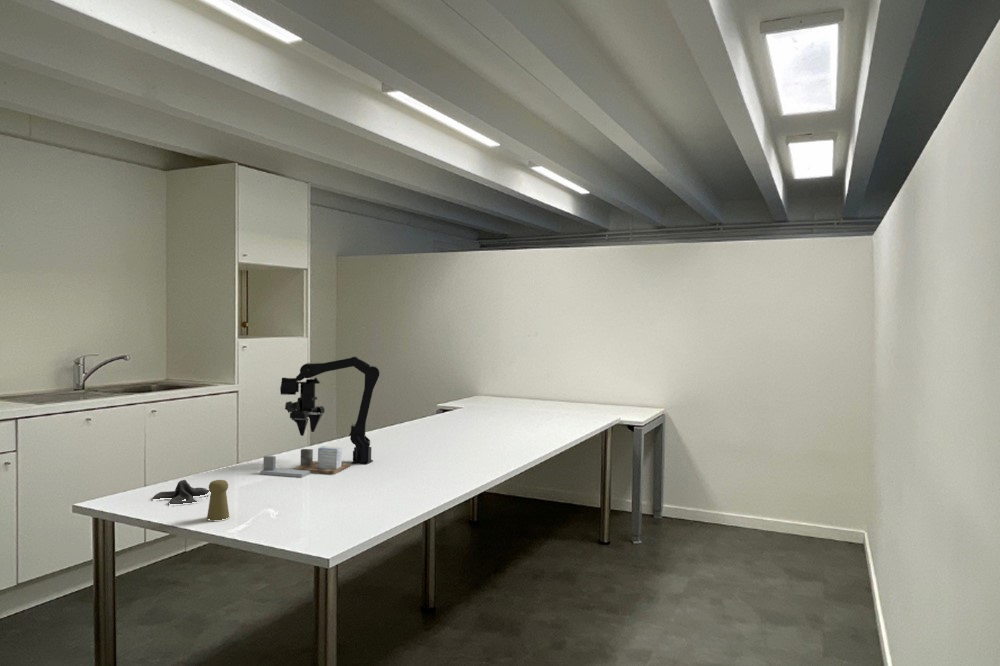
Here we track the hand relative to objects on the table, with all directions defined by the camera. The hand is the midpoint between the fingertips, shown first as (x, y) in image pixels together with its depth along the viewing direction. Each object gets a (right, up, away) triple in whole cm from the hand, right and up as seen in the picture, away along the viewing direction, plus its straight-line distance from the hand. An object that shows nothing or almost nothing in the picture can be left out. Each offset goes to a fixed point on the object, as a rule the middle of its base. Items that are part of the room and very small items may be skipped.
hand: (307, 433), depth 271 cm
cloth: (-24, -13, -51) cm, 58 cm away
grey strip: (-3, -12, -19) cm, 23 cm away
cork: (-5, -14, -74) cm, 76 cm away
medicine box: (+12, -13, -11) cm, 20 cm away
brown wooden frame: (+8, -12, -10) cm, 18 cm away
